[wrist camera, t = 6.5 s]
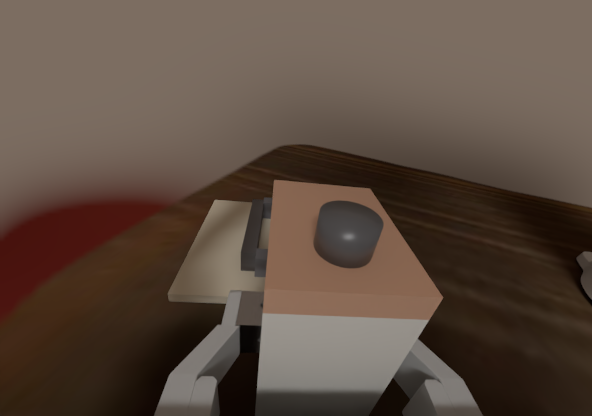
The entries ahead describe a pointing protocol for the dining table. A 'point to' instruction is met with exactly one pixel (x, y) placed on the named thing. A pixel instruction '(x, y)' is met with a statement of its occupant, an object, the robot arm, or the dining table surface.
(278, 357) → the white and orange block
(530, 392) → the dining table surface
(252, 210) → the board
